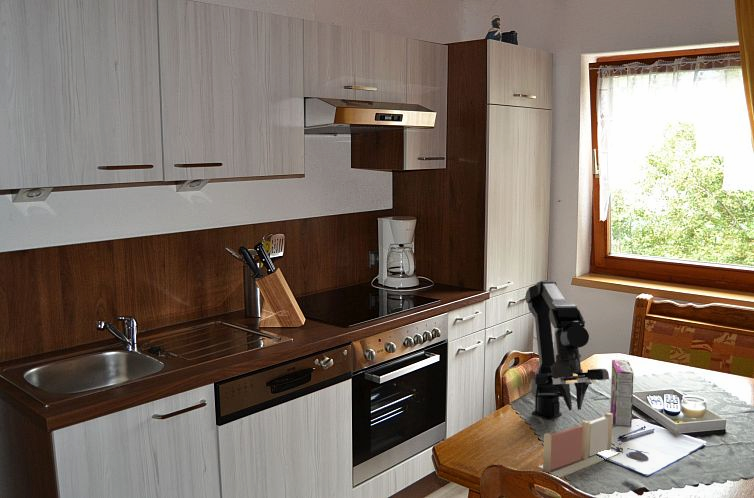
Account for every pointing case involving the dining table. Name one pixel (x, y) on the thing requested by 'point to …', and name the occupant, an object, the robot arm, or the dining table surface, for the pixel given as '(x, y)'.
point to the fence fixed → (596, 435)
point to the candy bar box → (621, 392)
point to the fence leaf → (562, 448)
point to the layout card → (575, 466)
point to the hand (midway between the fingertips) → (574, 410)
